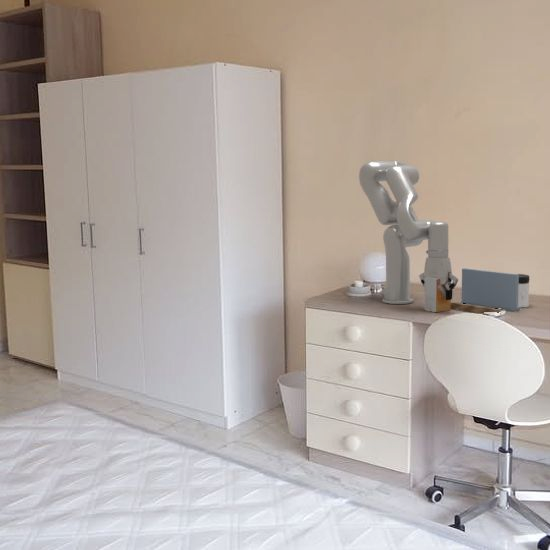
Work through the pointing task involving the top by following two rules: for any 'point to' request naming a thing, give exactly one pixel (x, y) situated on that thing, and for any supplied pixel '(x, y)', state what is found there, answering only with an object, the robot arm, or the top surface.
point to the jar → (523, 291)
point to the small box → (435, 296)
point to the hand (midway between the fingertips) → (438, 298)
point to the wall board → (490, 289)
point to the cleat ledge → (472, 308)
